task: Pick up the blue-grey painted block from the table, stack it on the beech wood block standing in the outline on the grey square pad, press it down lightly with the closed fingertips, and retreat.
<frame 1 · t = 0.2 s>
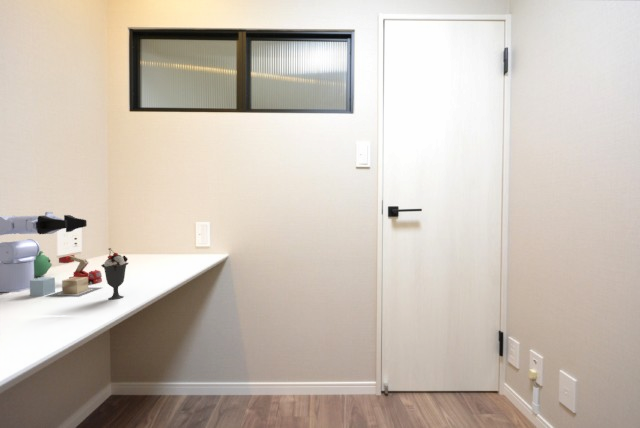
hand: (76, 223, 101), 21 cm above the table, tool horizontal, fingers open, 7 cm apart
grey square pad: (75, 293, 98), on the table
beech block: (75, 291, 98), resting on grey square pad
bluegrey block: (42, 295, 96), on the table
sundae: (115, 299, 92), on the table
toy fire truck: (81, 284, 110), on the table
alien toy: (39, 276, 121), on the table
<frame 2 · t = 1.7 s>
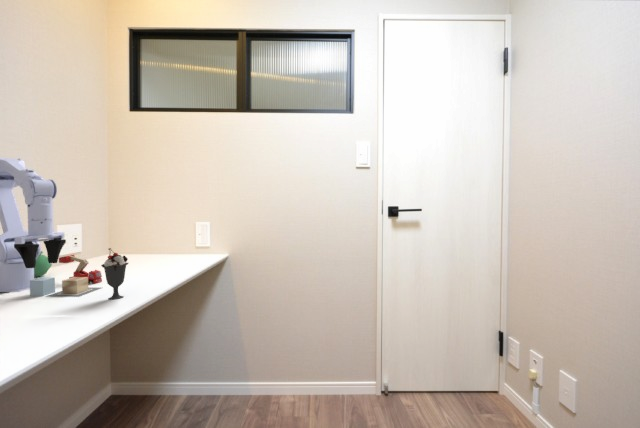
hand: (42, 265, 96), 9 cm above the table, tool pointing down, fingers open, 7 cm apart
nothing on the table moved.
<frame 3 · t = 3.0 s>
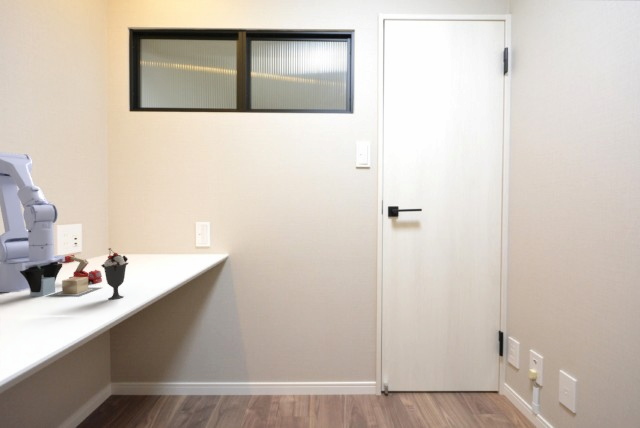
hand: (42, 289, 96), 2 cm above the table, tool pointing down, fingers closed on bluegrey block, 4 cm apart
bluegrey block: (42, 295, 96), on the table, touching gripper
everything else where it was.
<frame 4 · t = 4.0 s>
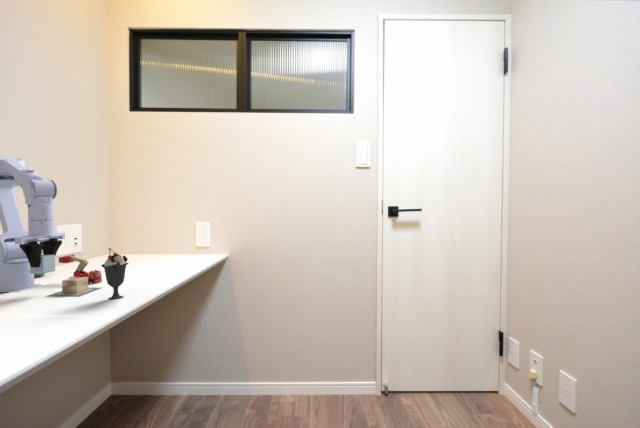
hand: (42, 265, 96), 9 cm above the table, tool pointing down, fingers closed on bluegrey block, 4 cm apart
bluegrey block: (43, 272, 96), point 7 cm above the table, touching gripper
everything else where it was.
when the fingers open (7 cm above the table, at t = 5.4 s): bluegrey block stays where it is, resting on beech block.
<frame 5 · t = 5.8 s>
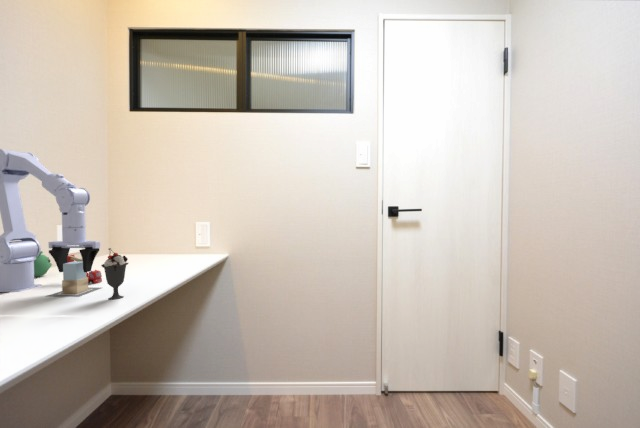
hand: (75, 271, 98), 7 cm above the table, tool pointing down, fingers open, 7 cm apart
beech block: (75, 291, 98), resting on grey square pad, touching bluegrey block
bluegrey block: (75, 278, 98), point 4 cm above the table, touching beech block
everything else where it was.
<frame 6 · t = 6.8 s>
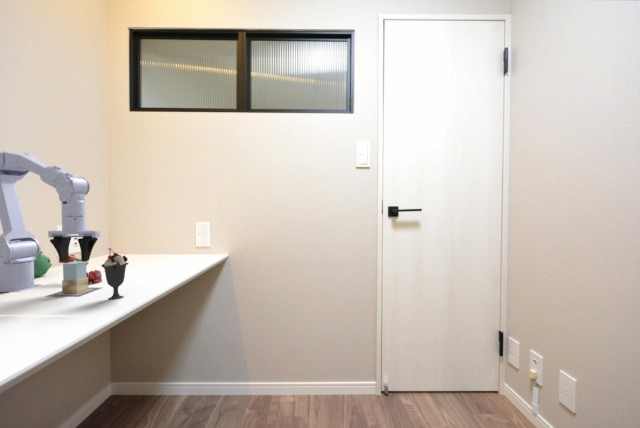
hand: (74, 260, 98), 10 cm above the table, tool pointing down, fingers open, 6 cm apart
nothing on the table moved.
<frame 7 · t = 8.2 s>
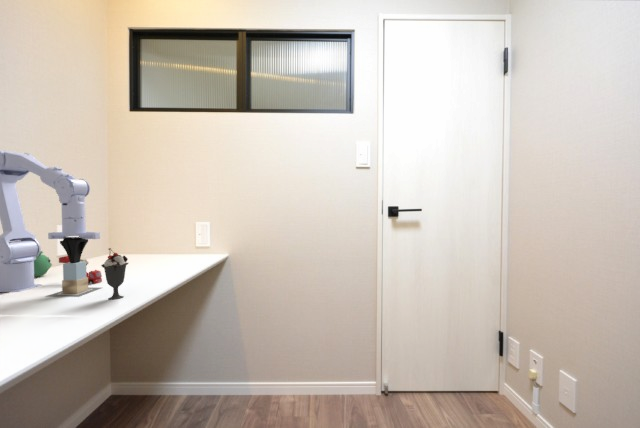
hand: (74, 262, 98), 9 cm above the table, tool pointing down, fingers closed
nothing on the table moved.
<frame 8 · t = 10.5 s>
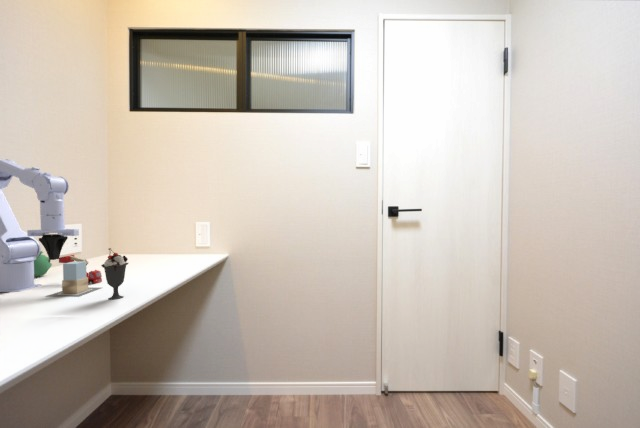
hand: (54, 259, 99), 10 cm above the table, tool pointing down, fingers closed
nothing on the table moved.
at the end: bluegrey block 0.1 cm off-centre on the beech block, point 4.0 cm above the beech block's base; bluegrey block tilted 0°; beech block moved 0.0 cm from its start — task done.
